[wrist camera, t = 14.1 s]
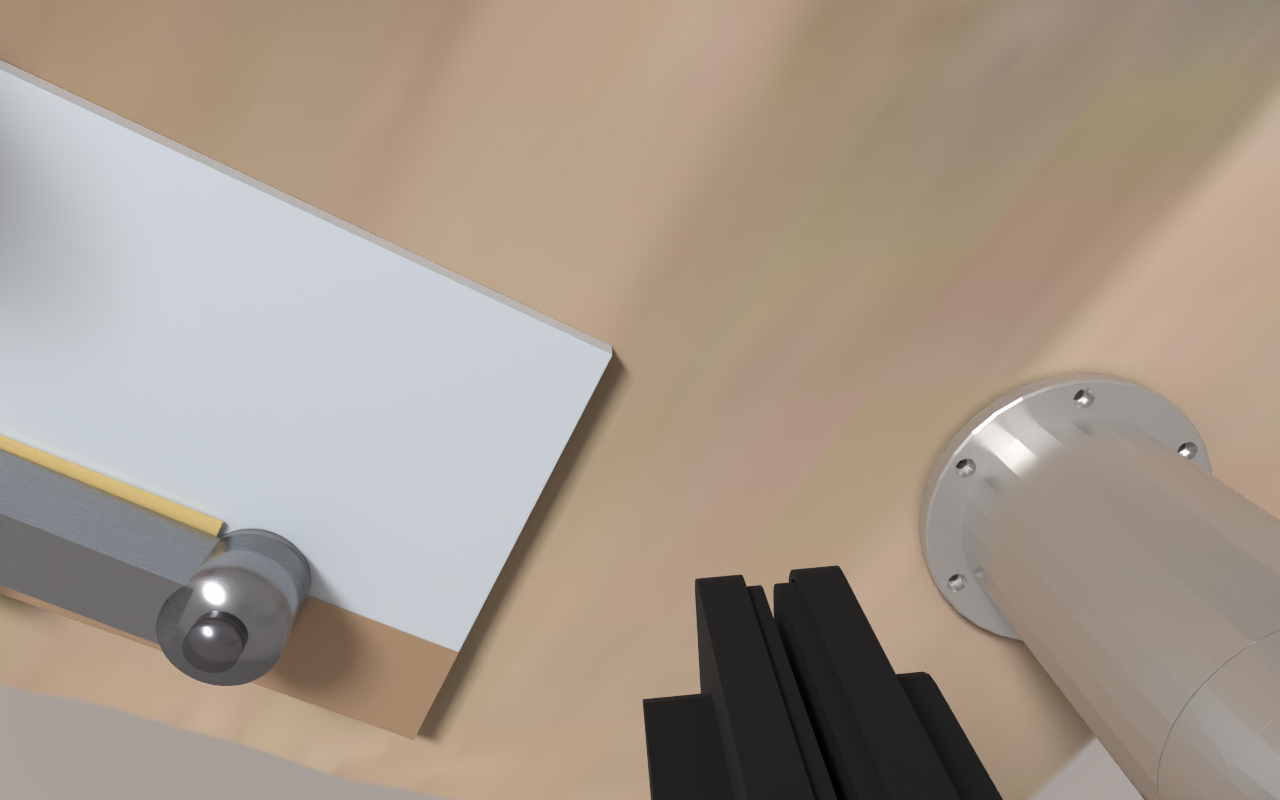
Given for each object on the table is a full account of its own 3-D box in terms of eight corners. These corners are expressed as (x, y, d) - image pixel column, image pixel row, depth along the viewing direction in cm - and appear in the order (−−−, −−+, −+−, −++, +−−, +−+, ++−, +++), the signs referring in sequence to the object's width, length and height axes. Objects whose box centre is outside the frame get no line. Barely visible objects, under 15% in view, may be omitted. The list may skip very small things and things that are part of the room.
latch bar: (326, 561, 38) (295, 624, 34) (284, 647, 39) (249, 720, 35) (-136, 370, 34) (-238, 415, 30) (-166, 473, 36) (-268, 530, 31)
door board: (611, 345, 38) (615, 377, 34) (418, 720, 43) (403, 783, 40) (-66, 29, 32) (-150, 24, 29) (-187, 503, 38) (-271, 552, 34)
